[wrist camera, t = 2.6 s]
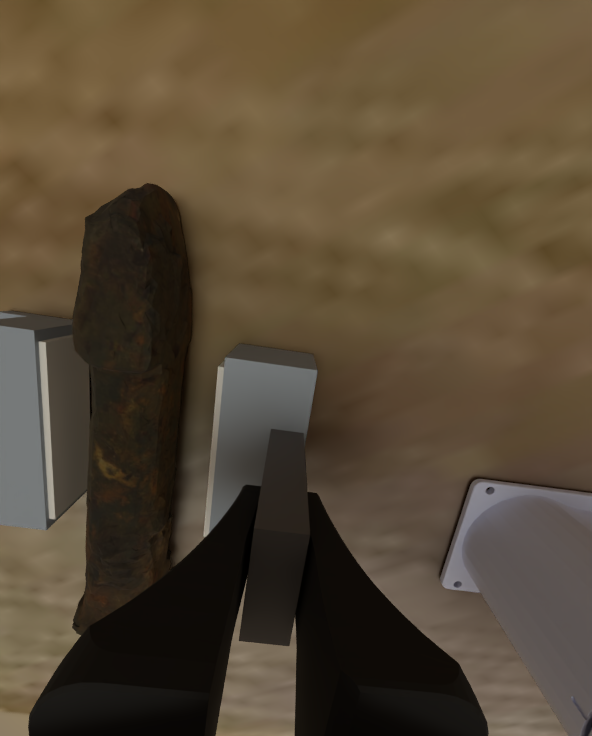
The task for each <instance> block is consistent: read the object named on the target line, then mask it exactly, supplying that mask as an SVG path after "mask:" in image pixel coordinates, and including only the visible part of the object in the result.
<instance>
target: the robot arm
mask: <svg viewBox="0 0 592 736" xmlns="http://www.w3.org/2000/svg"><path fill="white" fill-rule="evenodd" d="M488 487H490V488H489V489H488V490H486V489H487V488H488ZM260 490H261V486H255V485H247V484H246V485H245V486H243V487H242V490H241V491H240V493H239V495H238V496H237V498H236V500H235V501H234V502H233V504H232V505H231V507H230V508H229V509H228V511H227V512H226V513H225V515H224V516H223V517H222V519H221V520H220V521H219V522H218V524H217V525H216V526H215V527H214V528H213V529H212V530H211V532H210V533H209V534H208V535H207V536H206V537H205V538H204V539H203V540H202V541H201V542H200V544H199V545H198V546H197V547H196V548H195V549H194V550H192V551H191V552H190V553H189V554H188V555H187V556H186V557H185V558H184V559H183V560H182V561H181V562H179V563H178V564H177V565H176V566H175V567H174V568H173V569H171V570H170V571H169V572H168V573H167V574H165V575H164V576H163V577H162V578H160V579H159V580H158V581H156V582H155V583H154V584H152V585H151V586H150V587H148V588H147V589H146V590H144V591H143V592H141V593H140V594H139V595H137V596H136V597H135V598H133V599H132V600H130V601H129V602H127V603H126V604H124V605H123V606H121V607H120V608H118V609H116V610H115V611H113V612H112V613H110V614H108V615H107V616H105V617H104V618H102V619H100V620H99V621H97V622H95V623H94V624H92V625H90V626H89V627H88V628H87V629H86V630H85V632H84V633H83V634H82V635H81V637H80V638H79V639H78V641H77V642H76V643H75V644H74V646H73V647H72V649H71V650H70V651H69V652H68V654H67V655H66V656H65V658H64V659H63V660H62V662H61V663H60V665H59V666H58V668H57V669H56V671H55V673H54V674H53V676H52V677H51V679H50V681H49V682H48V684H47V686H46V687H45V689H44V690H43V692H42V694H41V695H40V697H39V699H38V700H37V702H36V704H35V705H34V707H33V709H32V711H31V713H30V715H29V725H28V726H29V727H28V728H29V736H215V735H216V729H217V723H218V717H219V711H220V705H221V699H222V694H223V688H224V682H225V676H226V670H227V664H228V659H229V653H230V647H231V641H232V637H233V632H234V627H235V623H236V619H237V615H238V611H239V607H240V603H241V599H242V595H243V591H244V587H245V583H246V579H247V575H248V569H249V562H250V554H251V547H252V540H253V532H254V525H255V520H256V514H257V508H258V502H259V496H260ZM307 493H308V509H309V525H310V538H309V544H308V549H307V554H306V560H305V565H304V570H303V575H302V581H301V586H300V591H299V597H298V602H297V607H296V613H295V619H296V640H297V659H296V706H295V736H488V726H487V721H486V719H485V716H484V714H483V712H482V710H481V707H480V705H479V703H478V701H477V698H476V696H475V694H474V692H473V690H472V688H471V686H470V684H469V682H468V680H467V678H466V676H465V675H464V673H463V671H462V669H461V667H460V665H459V663H458V662H456V661H455V660H454V659H453V658H452V657H450V656H449V655H448V654H447V653H445V652H444V651H443V650H442V649H441V648H439V647H438V646H437V645H436V644H435V643H433V642H432V641H431V640H430V639H429V638H427V637H426V636H425V635H424V634H423V633H422V632H421V631H420V630H419V629H417V628H416V627H415V626H414V625H413V624H412V623H411V622H410V621H409V620H408V619H407V618H406V617H405V616H404V615H403V614H402V613H401V612H400V611H399V610H398V609H397V608H396V607H395V606H394V605H393V604H392V603H391V602H390V601H389V600H388V599H387V598H386V597H385V595H384V594H383V593H382V592H381V591H380V590H379V589H378V588H377V587H376V586H375V584H374V583H373V582H372V581H371V580H370V578H369V577H368V576H367V574H366V573H365V572H364V571H363V569H362V568H361V567H360V565H359V564H358V563H357V561H356V560H355V558H354V557H353V556H352V554H351V553H350V551H349V550H348V548H347V547H346V545H345V543H344V542H343V540H342V539H341V537H340V535H339V534H338V532H337V530H336V528H335V527H334V525H333V523H332V521H331V520H330V518H329V516H328V514H327V512H326V510H325V508H324V506H323V504H322V502H321V500H320V497H319V496H318V494H317V493H311V492H307ZM440 581H441V583H442V585H443V587H444V588H446V589H452V590H461V591H470V592H479V593H481V594H482V596H483V598H484V599H485V601H486V602H487V604H488V606H489V607H490V609H491V611H492V612H493V614H494V616H495V617H496V619H497V620H498V622H499V624H500V625H501V627H502V629H503V630H504V632H505V633H506V635H507V637H508V638H509V640H510V642H511V643H512V645H513V646H514V648H515V650H516V651H517V653H518V655H519V656H520V658H521V660H522V661H523V663H524V664H525V666H526V668H527V669H528V671H529V673H530V674H531V676H532V677H533V679H534V681H535V682H536V684H537V686H538V687H539V689H540V690H541V692H542V694H543V695H544V697H545V699H546V700H547V702H548V704H549V705H550V707H551V708H552V710H553V712H554V713H555V715H556V717H557V718H558V720H559V721H560V723H561V725H562V726H563V728H564V730H565V731H566V733H567V734H568V736H592V493H586V492H579V491H571V490H563V489H555V488H548V487H540V486H532V485H525V484H517V483H509V482H501V481H494V480H486V479H476V480H474V481H473V482H472V483H471V485H470V488H469V491H468V494H467V497H466V500H465V503H464V506H463V509H462V512H461V516H460V519H459V522H458V525H457V528H456V531H455V534H454V537H453V540H452V543H451V546H450V549H449V552H448V555H447V558H446V562H445V565H444V568H443V571H442V574H441V577H440Z"/></svg>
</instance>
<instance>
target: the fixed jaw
mask: <svg viewBox="0 0 592 736" xmlns="http://www.w3.org/2000/svg"><path fill="white" fill-rule="evenodd" d="M72 322H73V320H71V319H64V318H58V317H51V316H44V315H37V314H30V313H23V312H16V311H1V312H0V525H6V526H15V527H24V528H32V529H41V530H47V529H48V528H49V527H50V526H51V525H52V524H53V523H54V522H55V521H56V520H57V519H59V518H60V517H61V516H62V515H63V514H64V513H65V512H66V511H67V510H68V509H69V508H70V507H71V506H72V505H73V504H74V503H75V502H76V501H77V500H78V499H79V498H80V497H81V496H82V495H83V494H84V493H85V492H86V491H87V475H88V462H89V424H90V371H89V364H87V363H86V362H85V361H84V360H83V359H82V358H81V357H80V356H79V355H78V353H77V352H76V351H75V349H74V343H73V335H72Z"/></svg>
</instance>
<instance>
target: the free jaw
mask: <svg viewBox="0 0 592 736" xmlns="http://www.w3.org/2000/svg"><path fill="white" fill-rule="evenodd" d="M317 371H318V370H317V366H316V363H315V359H314V356H313V354H309V353H302V352H295V351H288V350H281V349H274V348H267V347H260V346H253V345H246V344H238V345H237V346H236V347H235V348H234V349H233V350H232V351H231V352H230V353H229V354H228V355H227V356H226V357H225V360H224V361H223V362H222V363H221V364H220V365H219V366H218V374H217V386H216V398H215V409H214V421H213V432H212V444H211V455H210V467H209V478H208V490H207V501H206V513H205V524H204V536H203V537H206V536H207V535H208V534H209V533H210V532H211V530H212V529H213V528H214V527H215V526H216V525H217V524H218V522H219V521H220V520H221V519H222V517H223V516H224V515H225V513H226V512H227V511H228V509H229V508H230V507H231V505H232V504H233V502H234V501H235V500H236V498H237V496H238V495H239V493H240V491H241V490H242V487H243V486H245V485H246V484H247V485H255V486H261V490H260V496H259V502H258V508H257V514H256V520H255V525H254V532H253V540H252V547H251V554H250V562H249V569H248V577H247V584H246V592H245V599H244V607H243V614H242V622H241V629H240V636H239V641H245V642H255V643H264V644H274V645H283V646H289V644H290V639H291V634H292V628H293V623H294V618H295V613H296V607H297V602H298V597H299V591H300V586H301V581H302V575H303V570H304V565H305V560H306V554H307V549H308V544H309V538H310V525H309V509H308V493H307V477H306V462H305V442H306V436H307V430H308V424H309V418H310V413H311V407H312V401H313V395H314V389H315V383H316V377H317Z"/></svg>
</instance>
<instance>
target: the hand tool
mask: <svg viewBox="0 0 592 736" xmlns="http://www.w3.org/2000/svg"><path fill="white" fill-rule="evenodd" d="M191 333H192V302H191V288H190V282H189V272H188V264H187V256H186V249H185V242H184V237H183V233H182V229H181V222H180V216H179V211H178V208H177V205H176V203H175V201H174V199H173V198H172V196H171V195H170V194H169V193H168V192H166V191H165V190H164V189H162V188H161V187H159V186H158V185H154V184H149V183H147V184H144V185H143V186H142V187H140V188H136V189H133V188H132V189H128V190H126V191H125V192H124V193H122V194H121V195H119V196H118V197H117V198H115V199H114V200H112V201H110V202H108V203H106V204H105V205H103V206H101V207H100V208H99V209H98V210H97V211H96V212H95V213H94V214H91V215H89V216H87V217H85V234H84V239H83V247H82V259H81V275H80V281H79V286H78V292H77V297H76V302H75V307H74V313H73V322H72V335H73V343H74V349H75V351H76V352H77V353H78V355H79V356H80V357H81V358H82V359H83V360H84V361H85V362H86V363H87V364H89V365H90V377H91V387H92V416H91V420H90V424H89V462H88V475H87V503H86V504H87V522H86V573H85V576H86V587H85V592H84V595H83V596H82V598H81V600H80V601H79V603H78V608H77V610H76V613H75V616H74V619H73V622H74V623H73V626H72V628H73V629H74V630H75V631H76V633H77V634H80V635H82V634H83V633H84V632H85V630H86V629H87V628H88V627H89V626H90V625H92V624H94V623H95V622H97V621H99V620H100V619H102V618H104V617H105V616H107V615H108V614H110V613H112V612H113V611H115V610H116V609H118V608H120V607H121V606H123V605H124V604H126V603H127V602H129V601H130V600H132V599H133V598H135V597H136V596H137V595H139V594H140V593H141V592H143V591H144V590H146V589H147V588H148V587H150V586H151V585H152V584H154V583H155V582H156V581H158V580H159V579H160V578H162V577H163V576H164V575H165V574H167V573H168V570H169V568H170V564H171V560H170V554H171V551H170V550H168V544H169V538H170V535H171V528H172V527H171V520H172V517H173V516H172V514H171V512H170V508H171V499H172V490H173V485H174V480H175V476H176V467H175V463H176V447H177V435H178V423H179V414H180V403H181V388H182V381H183V370H184V361H185V355H186V351H187V347H188V343H189V341H190V340H191Z"/></svg>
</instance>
